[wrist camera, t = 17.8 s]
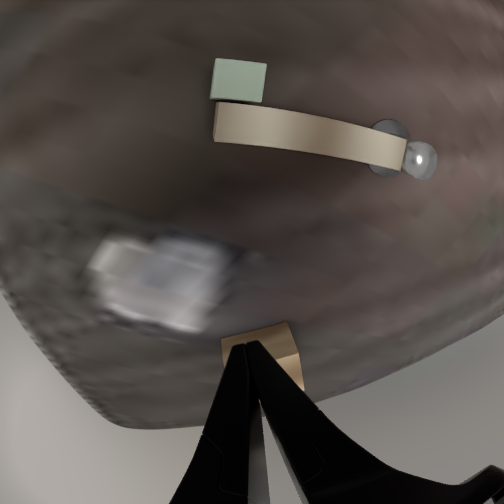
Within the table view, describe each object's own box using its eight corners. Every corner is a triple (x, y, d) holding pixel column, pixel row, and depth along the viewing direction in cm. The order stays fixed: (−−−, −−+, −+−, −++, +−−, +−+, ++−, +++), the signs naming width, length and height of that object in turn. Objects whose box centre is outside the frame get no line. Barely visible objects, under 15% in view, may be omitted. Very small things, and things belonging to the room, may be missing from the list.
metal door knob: (369, 112, 17) (405, 119, 14) (415, 127, 18) (452, 138, 14) (358, 171, 19) (390, 189, 16) (403, 180, 20) (437, 199, 17)
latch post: (213, 68, 15) (215, 58, 11) (253, 72, 15) (266, 63, 12) (209, 99, 16) (211, 97, 12) (249, 102, 16) (261, 102, 13)
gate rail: (377, 131, 18) (407, 139, 15) (371, 158, 19) (400, 170, 16) (216, 102, 16) (219, 101, 12) (212, 134, 16) (214, 141, 13)
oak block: (220, 337, 25) (224, 372, 22) (286, 320, 25) (298, 353, 22) (237, 375, 28) (242, 406, 25) (293, 360, 28) (304, 390, 25)
